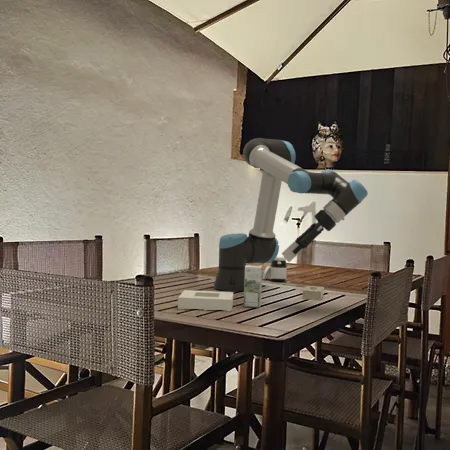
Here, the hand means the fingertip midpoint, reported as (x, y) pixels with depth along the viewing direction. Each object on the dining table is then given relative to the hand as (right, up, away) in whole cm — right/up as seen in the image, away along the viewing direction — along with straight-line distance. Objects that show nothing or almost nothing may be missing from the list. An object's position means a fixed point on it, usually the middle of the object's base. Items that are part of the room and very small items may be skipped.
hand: (285, 257), depth 192 cm
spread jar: (+3, -16, +71) cm, 72 cm away
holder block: (-28, -17, -1) cm, 32 cm away
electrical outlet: (+15, -18, +28) cm, 36 cm away
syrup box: (-11, -17, +1) cm, 21 cm away
